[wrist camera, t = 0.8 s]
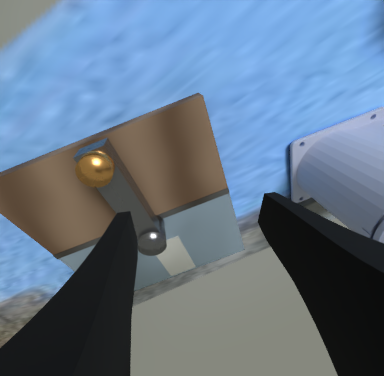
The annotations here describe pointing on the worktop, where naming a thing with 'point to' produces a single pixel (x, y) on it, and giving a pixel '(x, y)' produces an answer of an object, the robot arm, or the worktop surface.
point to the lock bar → (121, 193)
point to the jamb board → (136, 165)
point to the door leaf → (185, 242)
